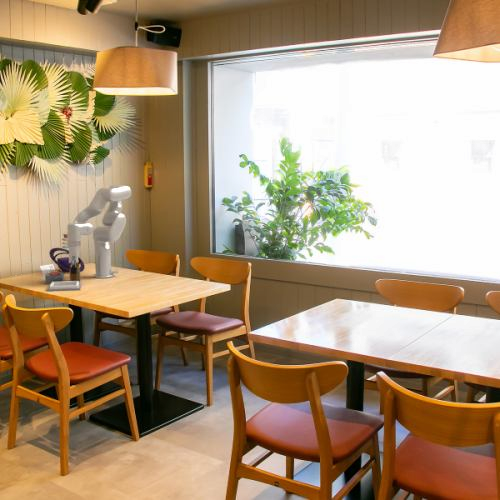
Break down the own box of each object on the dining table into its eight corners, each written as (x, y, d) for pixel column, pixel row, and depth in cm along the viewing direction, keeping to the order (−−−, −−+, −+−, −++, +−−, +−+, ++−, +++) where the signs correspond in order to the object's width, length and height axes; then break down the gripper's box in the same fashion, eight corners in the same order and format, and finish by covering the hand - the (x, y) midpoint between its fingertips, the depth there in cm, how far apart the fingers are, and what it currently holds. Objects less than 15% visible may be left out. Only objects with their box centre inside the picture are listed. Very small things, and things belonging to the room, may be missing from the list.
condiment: (78, 280, 378) (77, 261, 376) (84, 282, 371) (83, 262, 370) (66, 281, 373) (66, 262, 372) (72, 284, 367) (72, 264, 365)
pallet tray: (81, 284, 364) (81, 280, 364) (80, 290, 349) (80, 285, 349) (49, 285, 361) (49, 281, 360) (46, 291, 345) (46, 286, 345)
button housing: (64, 280, 378) (64, 272, 377) (63, 283, 368) (62, 275, 367) (47, 280, 376) (46, 272, 375) (45, 284, 366) (45, 275, 365)
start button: (59, 275, 374) (59, 270, 374) (58, 277, 369) (58, 272, 369) (50, 275, 373) (50, 270, 373) (50, 277, 368) (49, 272, 368)
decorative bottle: (68, 275, 395) (66, 236, 391) (43, 272, 403) (41, 234, 400) (91, 270, 415) (90, 233, 411) (66, 267, 423) (65, 231, 420)
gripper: (68, 242, 377) (68, 270, 378) (66, 245, 360) (66, 274, 362) (81, 242, 378) (81, 270, 380) (79, 245, 361) (79, 274, 363)
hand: (74, 272), depth 371 cm, fingers open, 9 cm apart
